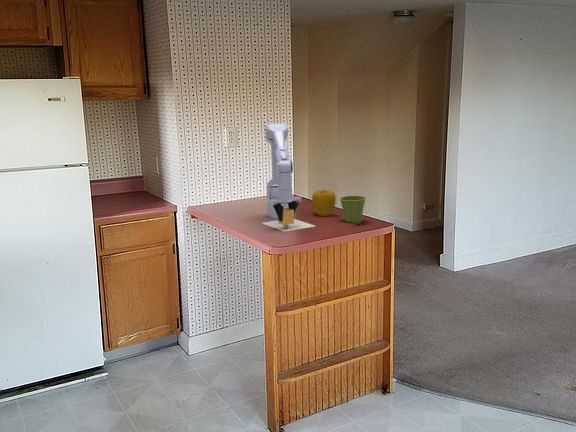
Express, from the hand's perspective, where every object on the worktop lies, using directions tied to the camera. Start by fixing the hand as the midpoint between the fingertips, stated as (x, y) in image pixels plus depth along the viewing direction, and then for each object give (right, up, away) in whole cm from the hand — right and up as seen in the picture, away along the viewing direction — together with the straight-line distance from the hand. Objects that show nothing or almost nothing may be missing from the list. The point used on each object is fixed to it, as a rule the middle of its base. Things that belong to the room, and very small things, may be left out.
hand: (285, 220), depth 245 cm
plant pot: (+30, -1, +11) cm, 32 cm away
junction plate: (+1, -3, +7) cm, 8 cm away
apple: (+18, +1, +25) cm, 31 cm away
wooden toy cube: (0, -1, 0) cm, 1 cm away
